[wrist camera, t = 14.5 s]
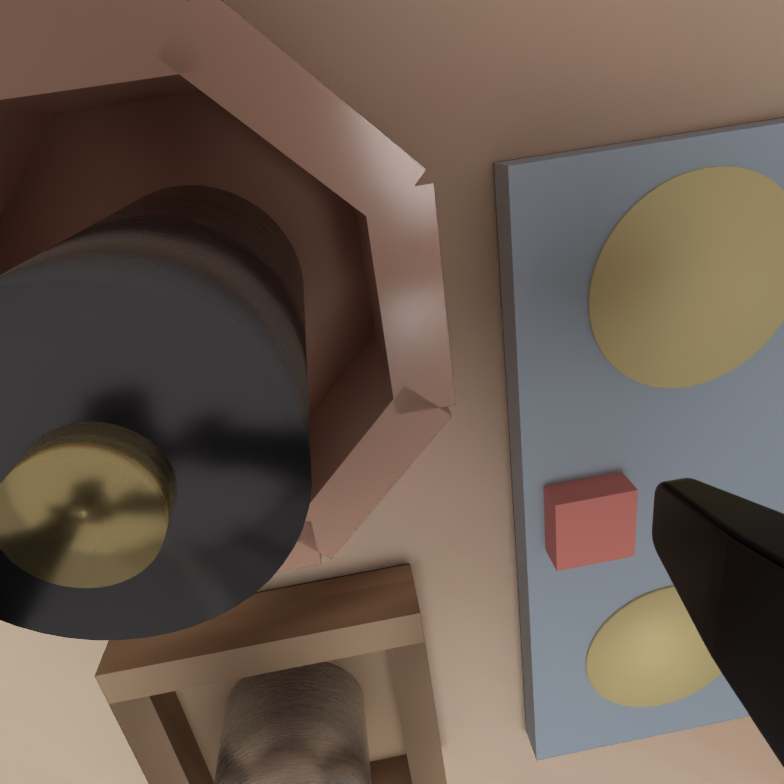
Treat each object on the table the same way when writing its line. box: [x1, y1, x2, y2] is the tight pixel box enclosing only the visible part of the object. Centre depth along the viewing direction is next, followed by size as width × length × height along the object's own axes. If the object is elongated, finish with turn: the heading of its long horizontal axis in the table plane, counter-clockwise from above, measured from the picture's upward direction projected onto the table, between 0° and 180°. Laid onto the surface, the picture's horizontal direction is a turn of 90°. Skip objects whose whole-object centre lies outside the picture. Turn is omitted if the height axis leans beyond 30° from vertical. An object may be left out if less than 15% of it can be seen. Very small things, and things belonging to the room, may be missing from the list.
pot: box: [0, 0, 456, 573], centre depth 11 cm, size 9×9×4 cm
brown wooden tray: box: [95, 564, 447, 784], centre depth 17 cm, size 8×8×2 cm
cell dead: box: [0, 185, 312, 640], centre depth 8 cm, size 4×4×8 cm
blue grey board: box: [494, 118, 784, 760], centre depth 15 cm, size 8×18×2 cm, turn 7°
